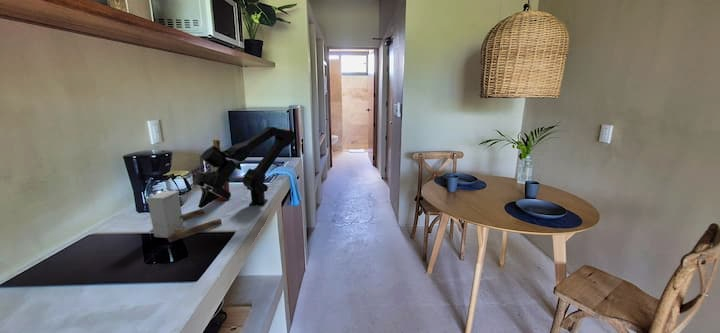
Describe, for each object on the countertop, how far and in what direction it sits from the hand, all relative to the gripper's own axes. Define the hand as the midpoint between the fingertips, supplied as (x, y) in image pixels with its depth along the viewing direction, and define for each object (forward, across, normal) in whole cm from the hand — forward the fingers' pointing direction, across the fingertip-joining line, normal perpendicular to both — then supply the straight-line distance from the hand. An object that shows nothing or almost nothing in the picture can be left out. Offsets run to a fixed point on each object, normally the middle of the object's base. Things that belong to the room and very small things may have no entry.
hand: (199, 207), depth 118 cm
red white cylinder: (-7, -17, +17) cm, 25 cm away
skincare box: (+12, 0, -4) cm, 13 cm away
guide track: (+8, 0, +1) cm, 8 cm away
